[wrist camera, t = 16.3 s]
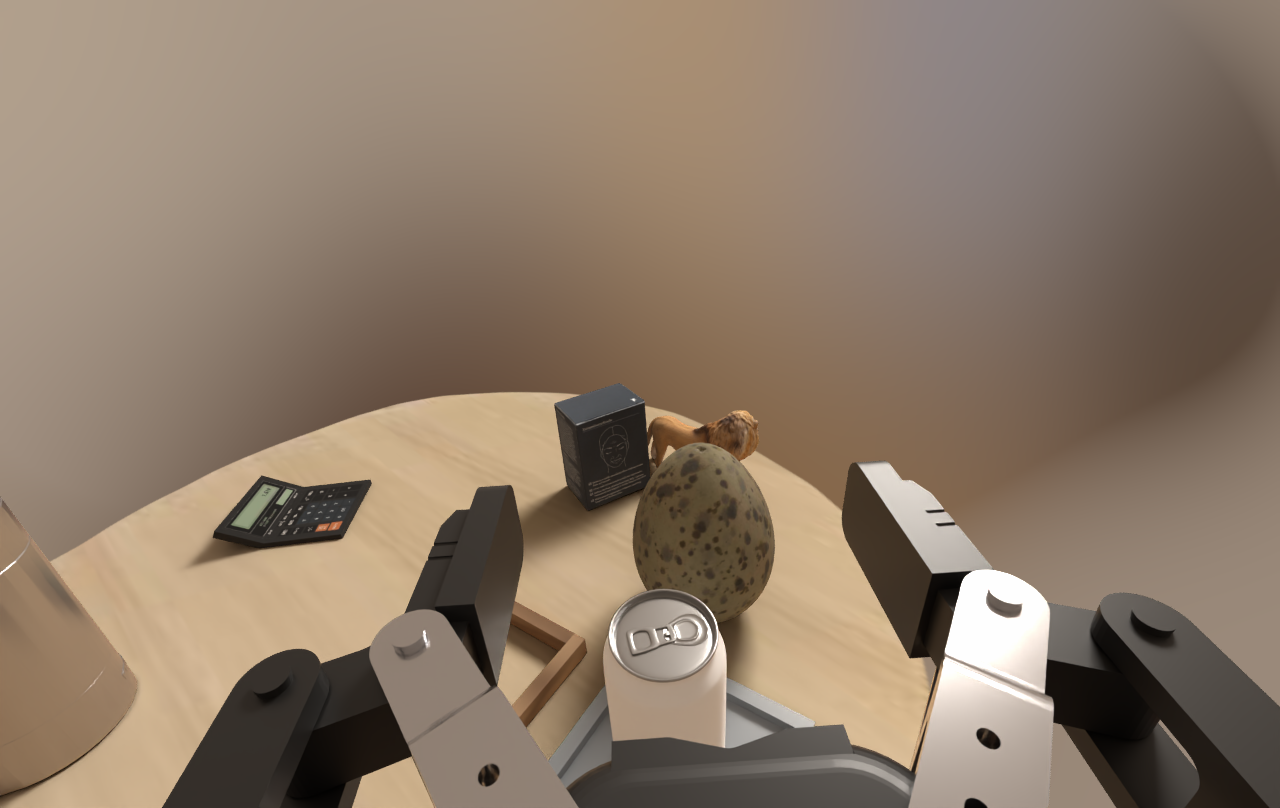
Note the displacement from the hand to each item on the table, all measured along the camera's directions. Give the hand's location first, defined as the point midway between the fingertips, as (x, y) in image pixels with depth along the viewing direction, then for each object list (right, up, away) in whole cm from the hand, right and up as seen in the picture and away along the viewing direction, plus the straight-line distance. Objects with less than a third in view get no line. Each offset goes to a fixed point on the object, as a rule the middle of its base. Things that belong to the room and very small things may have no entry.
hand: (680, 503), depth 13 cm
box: (-4, -7, +48) cm, 48 cm away
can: (+1, -20, +21) cm, 29 cm away
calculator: (-37, -10, +46) cm, 60 cm away
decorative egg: (+4, -14, +33) cm, 36 cm away
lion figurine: (+5, -6, +48) cm, 49 cm away
